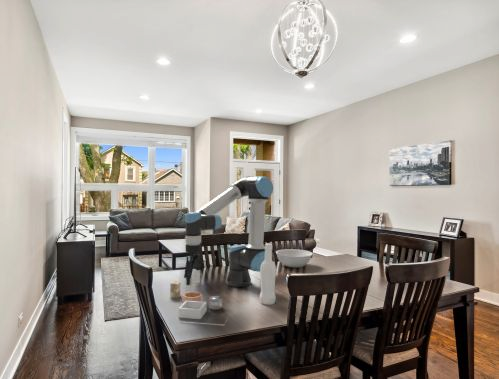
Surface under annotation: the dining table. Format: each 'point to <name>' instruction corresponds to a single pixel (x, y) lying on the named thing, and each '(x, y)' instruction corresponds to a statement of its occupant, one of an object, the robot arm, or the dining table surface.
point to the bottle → (268, 277)
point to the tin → (215, 302)
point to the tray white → (192, 309)
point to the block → (175, 289)
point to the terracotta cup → (192, 296)
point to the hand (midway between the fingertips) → (193, 287)
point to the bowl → (294, 257)
